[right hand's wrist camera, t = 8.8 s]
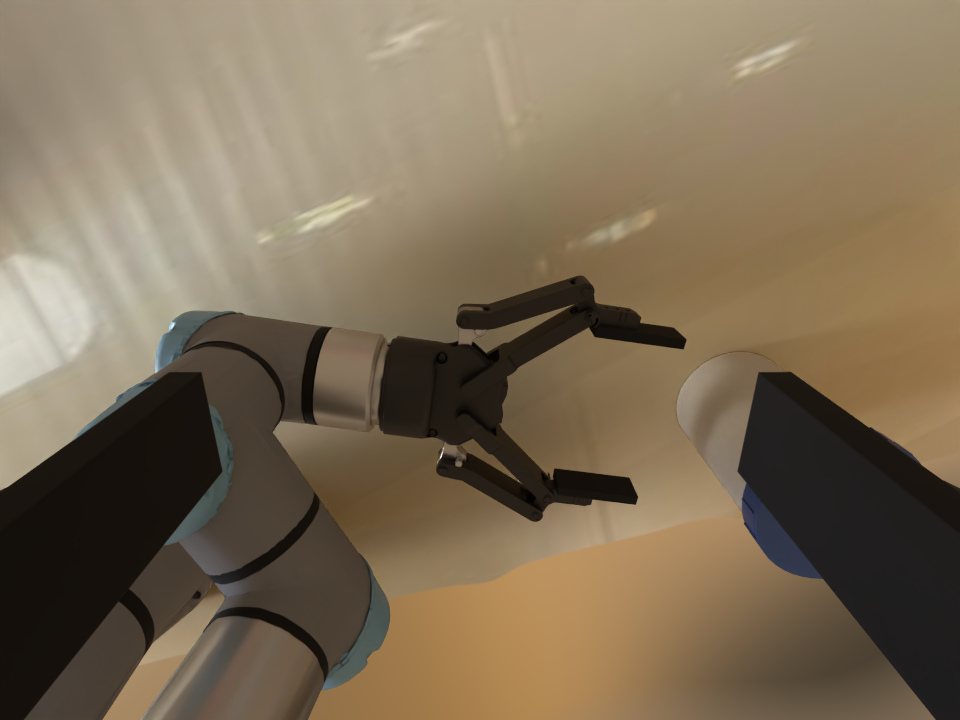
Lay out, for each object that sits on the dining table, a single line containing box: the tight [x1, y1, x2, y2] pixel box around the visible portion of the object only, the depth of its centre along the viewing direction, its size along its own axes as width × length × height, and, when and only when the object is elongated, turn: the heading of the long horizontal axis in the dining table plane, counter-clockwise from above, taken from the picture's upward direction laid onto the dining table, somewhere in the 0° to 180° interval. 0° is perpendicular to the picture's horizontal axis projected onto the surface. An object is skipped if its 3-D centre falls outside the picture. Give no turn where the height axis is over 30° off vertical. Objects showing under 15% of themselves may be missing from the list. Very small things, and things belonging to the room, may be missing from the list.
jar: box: [676, 352, 786, 512], centre depth 41 cm, size 10×10×16 cm
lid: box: [742, 427, 921, 579], centre depth 34 cm, size 11×11×2 cm
